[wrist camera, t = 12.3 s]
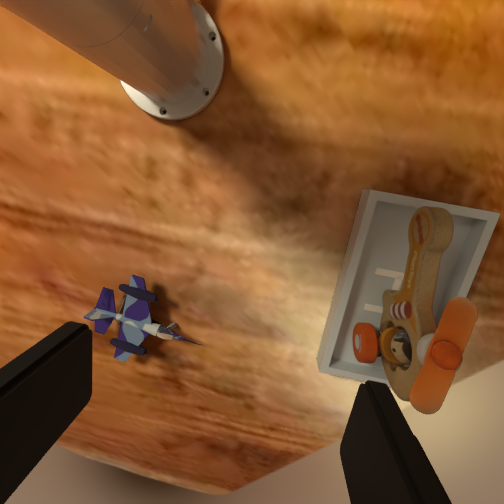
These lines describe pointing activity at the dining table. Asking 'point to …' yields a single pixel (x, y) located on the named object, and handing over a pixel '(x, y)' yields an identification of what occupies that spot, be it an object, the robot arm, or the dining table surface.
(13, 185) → the dining table surface
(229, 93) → the dining table surface
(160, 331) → the toy airplane
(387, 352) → the toy helicopter
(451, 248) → the tray
